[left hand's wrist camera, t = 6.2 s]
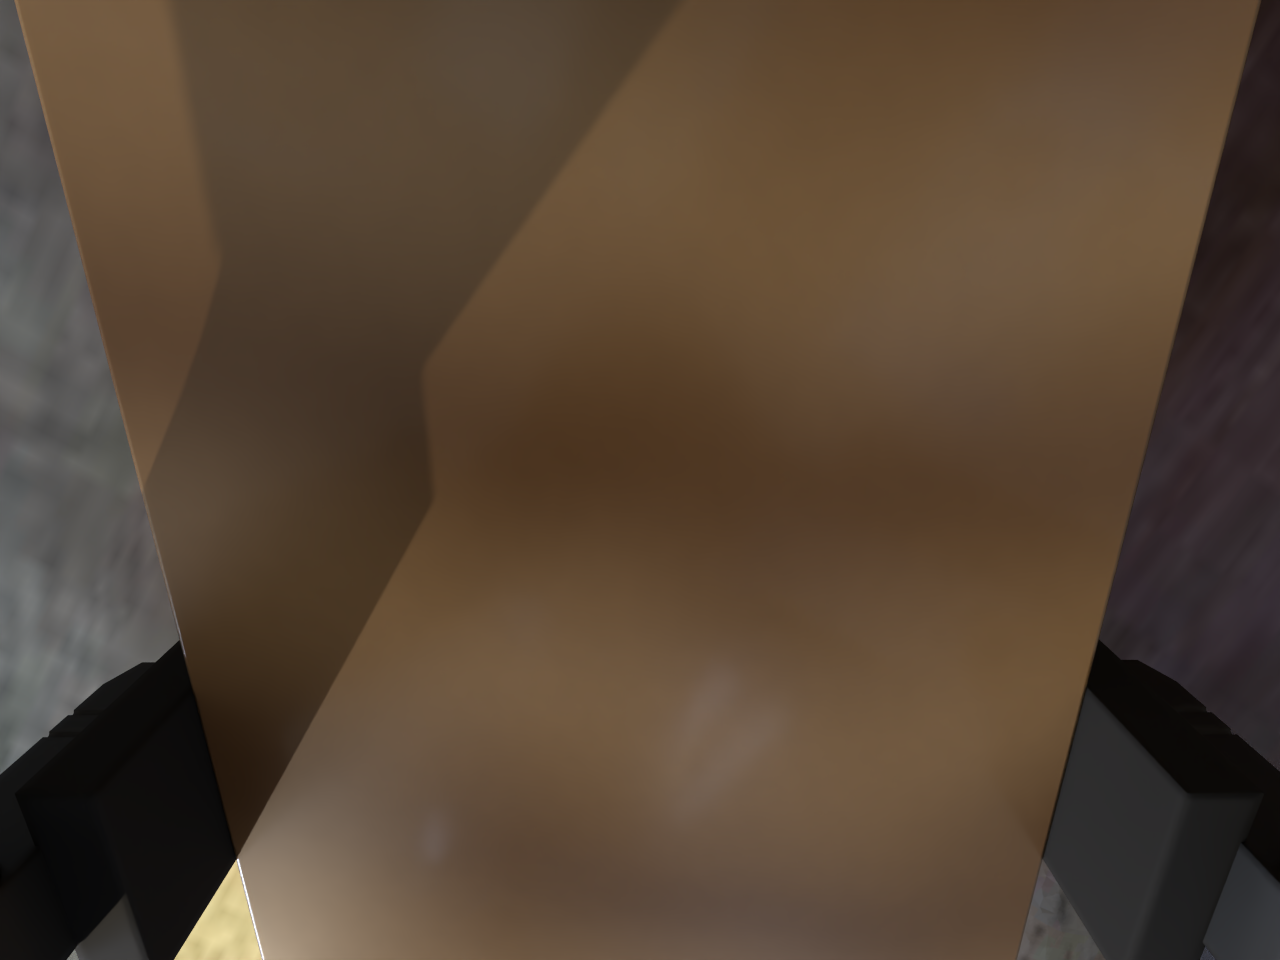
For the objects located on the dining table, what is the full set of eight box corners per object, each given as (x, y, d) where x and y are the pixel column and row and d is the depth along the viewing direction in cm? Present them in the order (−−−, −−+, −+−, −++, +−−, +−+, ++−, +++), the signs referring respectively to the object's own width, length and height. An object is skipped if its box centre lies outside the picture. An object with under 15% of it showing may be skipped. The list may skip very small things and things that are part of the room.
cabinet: (384, -116, 15) (-233, -928, 4) (891, -117, 15) (1504, -923, 4) (456, 595, 21) (267, 990, 10) (821, 595, 21) (1012, 989, 10)
